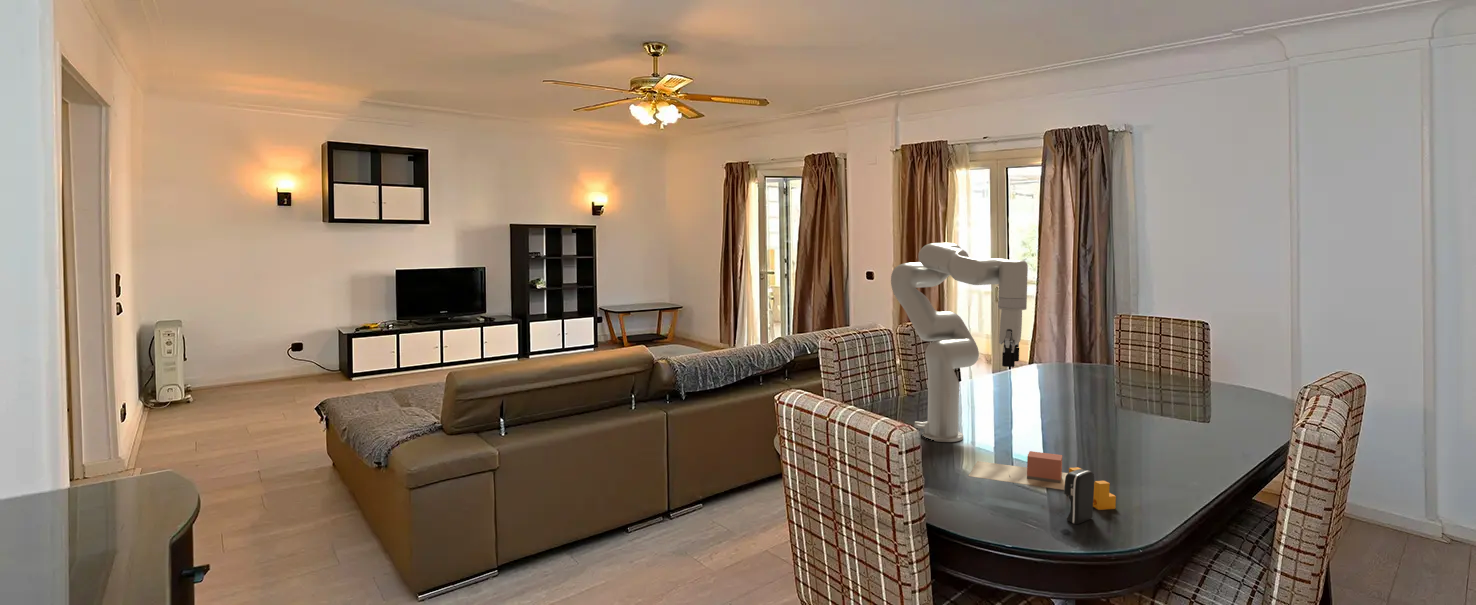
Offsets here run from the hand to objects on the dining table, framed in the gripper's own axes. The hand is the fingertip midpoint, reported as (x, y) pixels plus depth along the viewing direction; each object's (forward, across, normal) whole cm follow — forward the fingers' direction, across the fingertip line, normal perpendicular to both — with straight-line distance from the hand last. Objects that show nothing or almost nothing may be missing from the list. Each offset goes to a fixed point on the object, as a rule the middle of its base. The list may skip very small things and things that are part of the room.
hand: (1010, 363), depth 207 cm
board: (+28, +16, +5) cm, 33 cm away
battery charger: (+28, +38, +20) cm, 52 cm away
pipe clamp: (+29, +23, +22) cm, 43 cm away
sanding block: (+27, +16, +11) cm, 33 cm away
